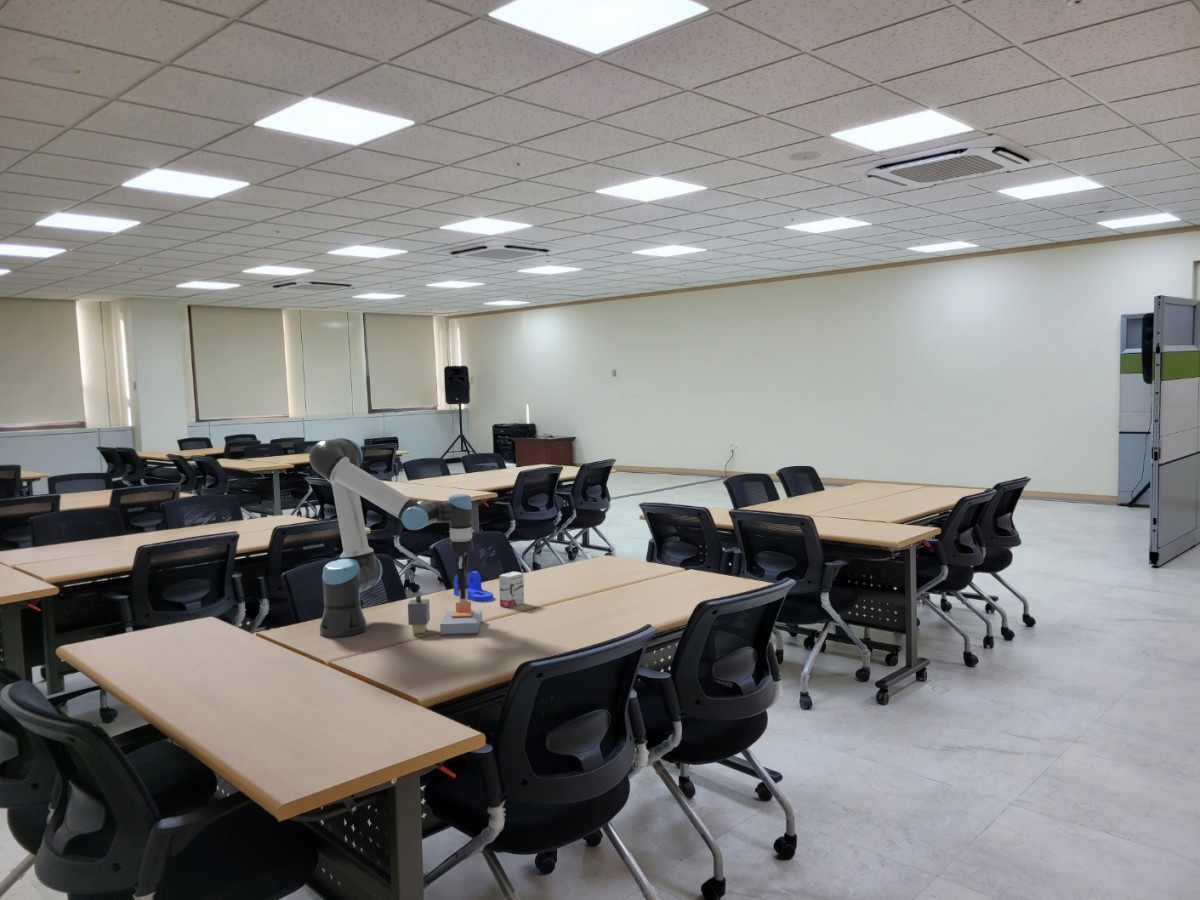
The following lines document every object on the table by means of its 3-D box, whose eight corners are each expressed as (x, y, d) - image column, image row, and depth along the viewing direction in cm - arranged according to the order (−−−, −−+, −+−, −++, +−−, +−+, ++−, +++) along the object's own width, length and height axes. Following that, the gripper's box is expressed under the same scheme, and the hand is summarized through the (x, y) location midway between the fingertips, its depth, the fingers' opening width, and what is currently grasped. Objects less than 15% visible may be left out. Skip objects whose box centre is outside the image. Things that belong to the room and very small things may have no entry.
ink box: (509, 608, 305) (508, 576, 304) (499, 606, 308) (498, 575, 307) (524, 603, 312) (524, 572, 311) (515, 601, 315) (514, 571, 314)
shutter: (451, 617, 278) (451, 607, 278) (454, 611, 285) (453, 602, 285) (471, 616, 279) (470, 606, 278) (473, 611, 285) (473, 601, 285)
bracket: (454, 595, 328) (453, 573, 327) (472, 591, 333) (471, 569, 333) (479, 603, 314) (478, 580, 314) (497, 599, 320) (496, 576, 319)
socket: (440, 636, 271) (440, 624, 271) (447, 622, 287) (447, 611, 287) (477, 634, 272) (477, 622, 272) (482, 621, 288) (481, 610, 287)
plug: (408, 633, 275) (407, 598, 274) (412, 628, 281) (410, 593, 280) (427, 633, 275) (425, 597, 274) (430, 628, 281) (428, 593, 280)
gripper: (470, 542, 278) (472, 612, 279) (474, 536, 291) (476, 602, 292) (448, 543, 278) (450, 612, 279) (452, 536, 291) (455, 603, 292)
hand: (463, 607), depth 286 cm, fingers closed
